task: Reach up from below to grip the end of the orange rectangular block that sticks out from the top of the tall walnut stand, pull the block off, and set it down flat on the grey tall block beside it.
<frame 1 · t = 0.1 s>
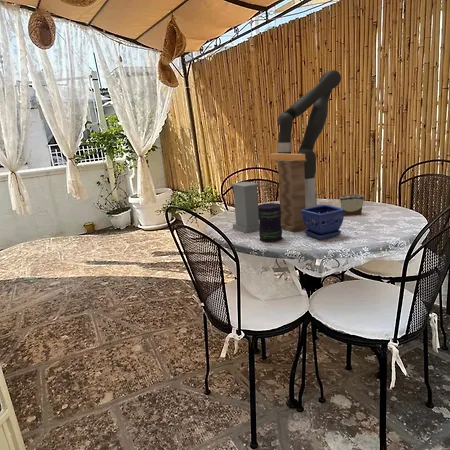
hand: (283, 180, 203), 17 cm above the table, tool pointing down, fingers open, 8 cm apart
tall stand: (293, 227, 170), on the table
food container: (350, 214, 185), on the table
storage jar: (271, 239, 156), on the table
flower pot: (322, 236, 154), on the table
orange rectangular block: (286, 159, 164), point 32 cm above the table, touching tall stand
grey tall block: (247, 228, 176), on the table
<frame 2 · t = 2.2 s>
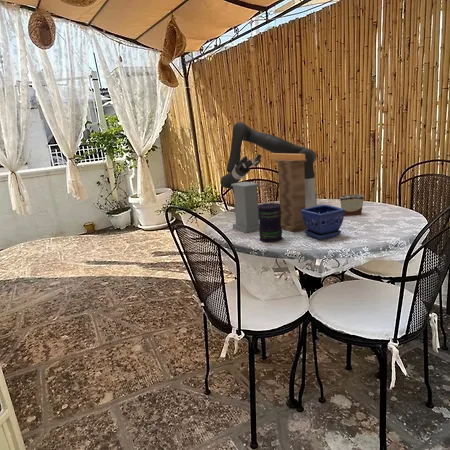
hand: (253, 156, 188), 33 cm above the table, tool pointing upward, fingers open, 8 cm apart
nothing on the table moved.
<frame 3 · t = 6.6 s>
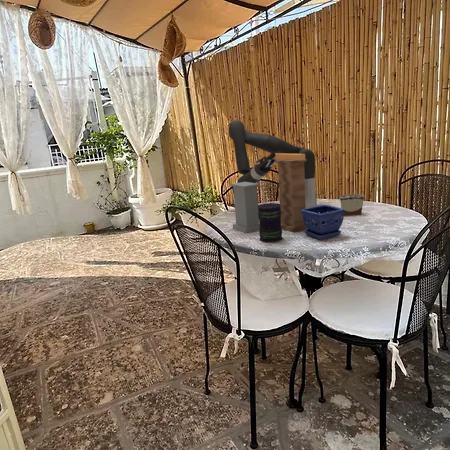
hand: (277, 153, 169), 35 cm above the table, tool pointing upward, fingers closed on orange rectangular block, 3 cm apart
orange rectangular block: (286, 159, 164), point 32 cm above the table, touching gripper, tall stand
everything else where it was.
when the fingers open (27 cm above the table, at t = 14.9 s): orange rectangular block drops 2 cm, resting on grey tall block.
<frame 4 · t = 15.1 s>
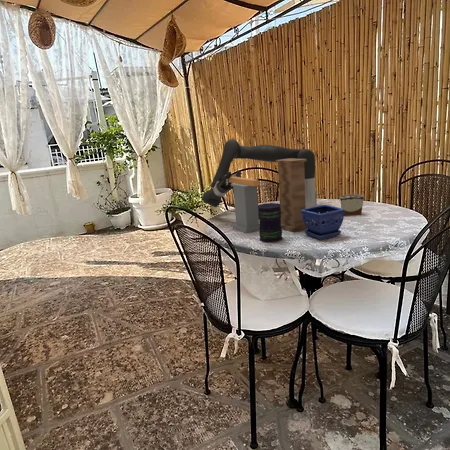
hand: (235, 172, 175), 27 cm above the table, tool pointing upward, fingers open, 4 cm apart
orange rectangular block: (243, 183, 171), point 22 cm above the table, touching grey tall block
everything else where it was.
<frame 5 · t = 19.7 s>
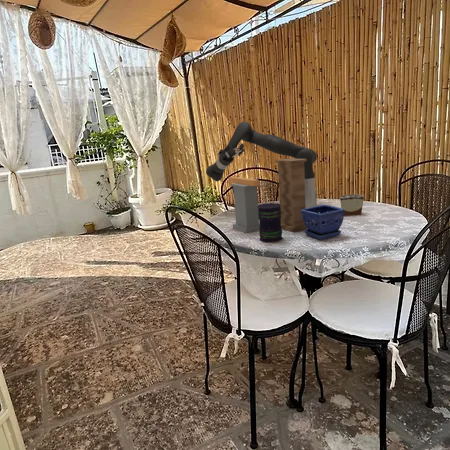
hand: (236, 145, 190), 39 cm above the table, tool pointing upward, fingers open, 8 cm apart
nothing on the table moved.
at the end: orange rectangular block inside the target area on the grey tall block (1.1 cm from its centre), point 22.0 cm above the grey tall block's base; orange rectangular block tilted 0°; the gripper is holding nothing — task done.
